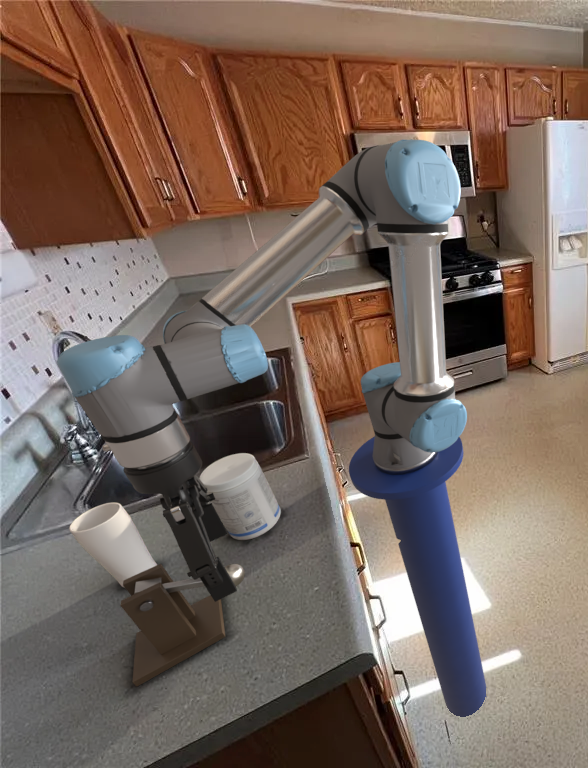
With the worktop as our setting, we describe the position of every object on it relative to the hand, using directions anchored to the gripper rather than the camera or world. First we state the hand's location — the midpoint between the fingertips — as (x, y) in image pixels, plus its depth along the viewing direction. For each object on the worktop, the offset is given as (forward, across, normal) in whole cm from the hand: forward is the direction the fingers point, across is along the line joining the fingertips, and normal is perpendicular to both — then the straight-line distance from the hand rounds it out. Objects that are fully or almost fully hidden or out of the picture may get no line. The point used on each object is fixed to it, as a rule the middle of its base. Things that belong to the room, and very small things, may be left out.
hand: (221, 563), depth 64 cm
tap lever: (+3, 0, -5) cm, 6 cm away
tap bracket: (+10, 0, -9) cm, 13 cm away
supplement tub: (+10, -19, +4) cm, 22 cm away
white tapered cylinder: (+10, -19, -15) cm, 26 cm away
